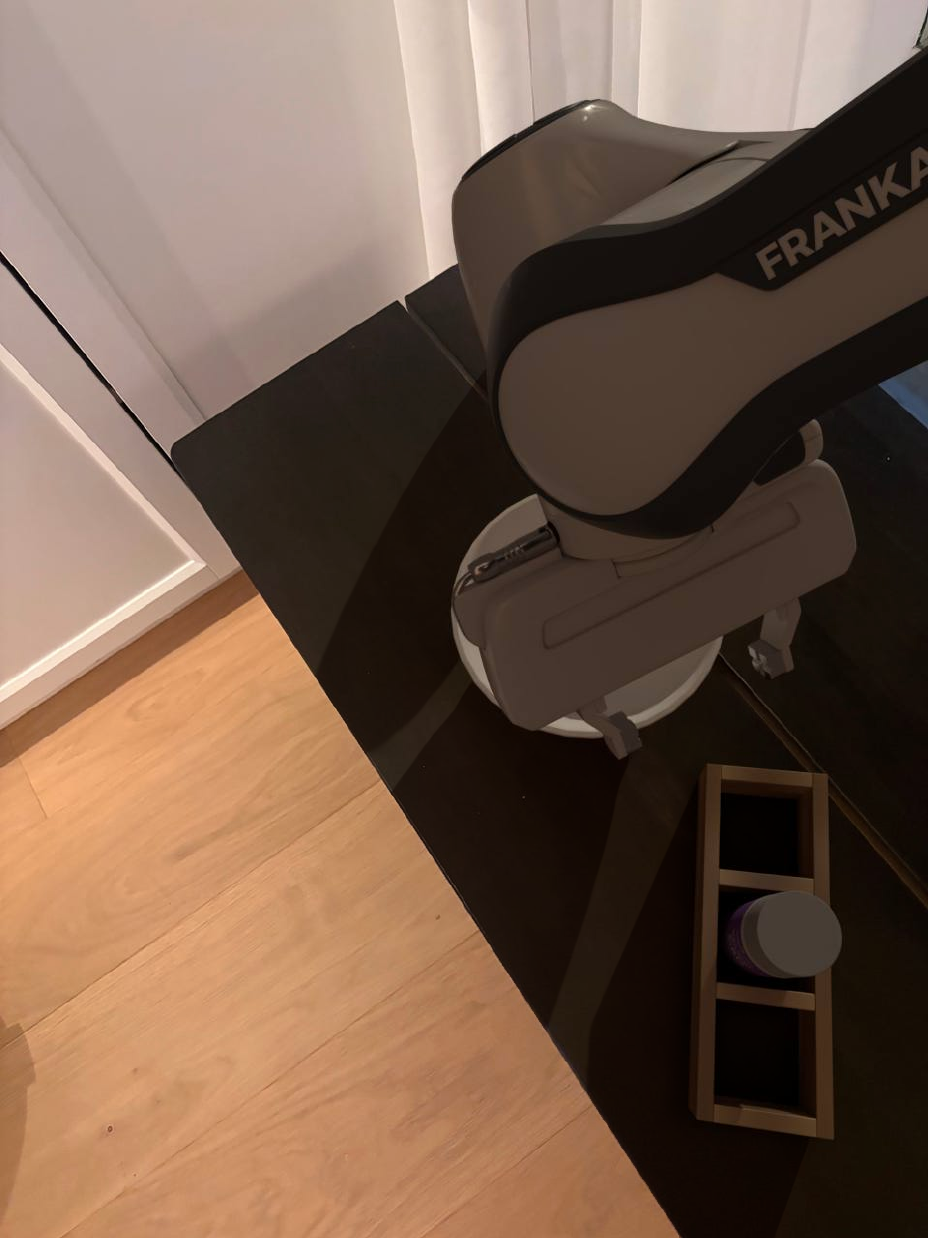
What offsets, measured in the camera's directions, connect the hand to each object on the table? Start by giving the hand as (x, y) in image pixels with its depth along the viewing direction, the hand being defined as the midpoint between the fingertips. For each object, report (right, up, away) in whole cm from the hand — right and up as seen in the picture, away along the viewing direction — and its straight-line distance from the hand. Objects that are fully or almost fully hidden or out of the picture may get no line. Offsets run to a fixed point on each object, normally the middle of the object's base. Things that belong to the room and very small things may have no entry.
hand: (701, 710), depth 50 cm
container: (+7, -17, +14) cm, 23 cm away
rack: (+7, -17, +13) cm, 23 cm away
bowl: (-3, +3, +23) cm, 23 cm away
